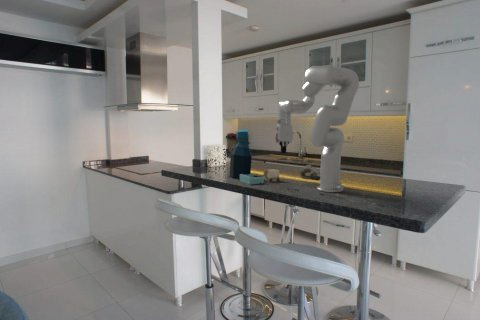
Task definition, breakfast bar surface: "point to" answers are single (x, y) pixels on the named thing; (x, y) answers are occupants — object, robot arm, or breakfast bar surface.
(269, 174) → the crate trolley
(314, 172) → the futuristic pistol
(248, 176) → the bay
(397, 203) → the breakfast bar surface
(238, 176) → the dark teal bottle
